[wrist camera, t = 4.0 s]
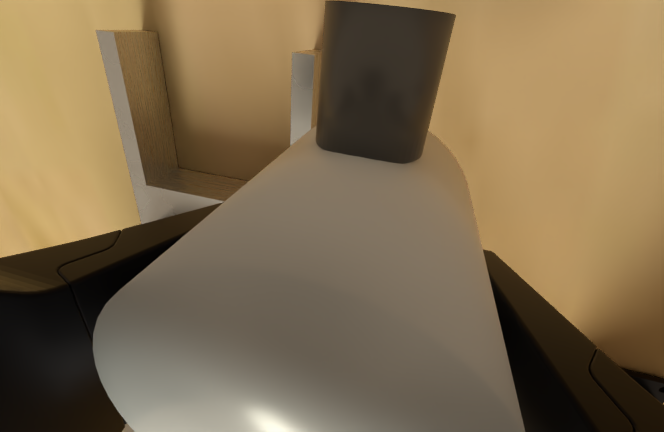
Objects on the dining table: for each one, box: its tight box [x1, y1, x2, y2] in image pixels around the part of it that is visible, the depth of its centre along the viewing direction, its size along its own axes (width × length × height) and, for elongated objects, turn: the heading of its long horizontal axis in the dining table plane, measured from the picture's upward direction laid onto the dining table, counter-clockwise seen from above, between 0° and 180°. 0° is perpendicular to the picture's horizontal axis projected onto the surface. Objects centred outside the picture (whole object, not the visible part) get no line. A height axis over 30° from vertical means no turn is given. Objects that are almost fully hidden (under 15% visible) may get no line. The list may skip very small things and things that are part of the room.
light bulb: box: [93, 1, 525, 432], centre depth 7 cm, size 6×8×7 cm
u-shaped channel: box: [96, 30, 322, 224], centre depth 18 cm, size 14×17×8 cm
